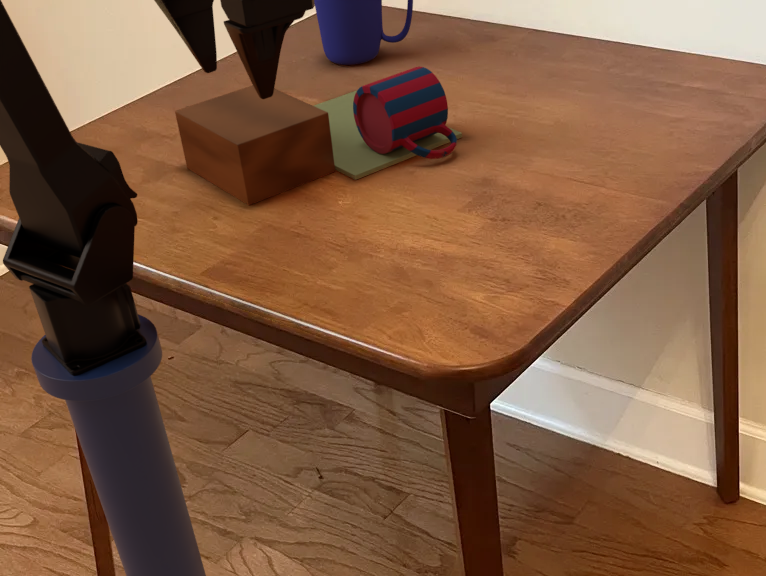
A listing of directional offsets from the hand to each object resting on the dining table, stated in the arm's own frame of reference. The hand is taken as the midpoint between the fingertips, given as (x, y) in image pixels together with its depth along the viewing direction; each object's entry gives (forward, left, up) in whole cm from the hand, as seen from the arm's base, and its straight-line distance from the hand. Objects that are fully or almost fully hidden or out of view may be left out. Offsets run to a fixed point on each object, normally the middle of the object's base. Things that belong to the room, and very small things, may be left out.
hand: (237, 84), depth 87 cm
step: (+5, +8, -12) cm, 15 cm away
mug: (+32, +26, -12) cm, 43 cm away
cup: (+14, 0, -9) cm, 17 cm away
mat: (+17, +8, -12) cm, 22 cm away
